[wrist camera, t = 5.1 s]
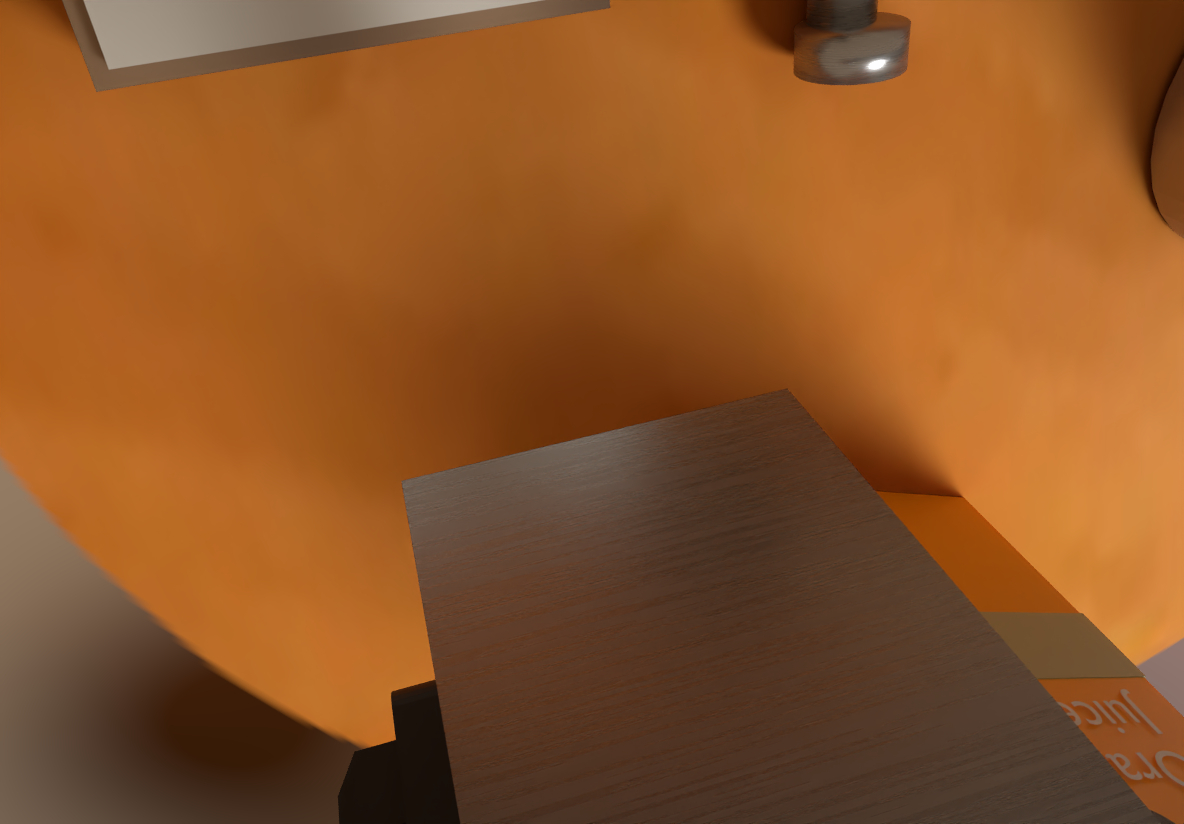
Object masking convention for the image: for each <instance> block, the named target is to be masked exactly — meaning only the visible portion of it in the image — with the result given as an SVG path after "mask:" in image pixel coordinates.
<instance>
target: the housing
mask: <svg viewBox="0 0 1184 824" xmlns="http://www.w3.org/2000/svg"><path fill="white" fill-rule="evenodd" d="M402 487H403V493H404V498H405V504H406V510H407V516H408V522H409V527H410V533H411V539H412V545H413V551H414V557H415V562H416V568H417V574H418V580H419V586H420V592H421V597H422V603H423V609H424V615H425V621H426V626H427V632H428V638H429V644H430V650H431V656H432V661H433V667H434V673H435V679H436V685H437V691H438V696H439V702H440V708H441V714H442V720H443V725H444V731H445V737H446V743H447V749H448V755H449V760H450V766H451V772H452V778H453V784H454V789H455V795H456V801H457V807H458V813H459V819H460V824H1161V823H1160V822H1159V820H1158V819H1157V818H1156V817H1155V816H1154V815H1153V813H1152V812H1151V811H1150V810H1149V809H1148V808H1147V806H1146V805H1145V804H1144V803H1143V802H1142V801H1141V800H1140V798H1139V797H1138V796H1137V795H1136V794H1135V793H1134V791H1133V790H1132V789H1131V788H1130V787H1129V786H1128V784H1127V783H1126V782H1125V781H1124V780H1123V779H1122V777H1121V776H1120V775H1119V774H1118V773H1117V772H1116V770H1115V769H1114V768H1113V767H1112V766H1111V765H1110V763H1109V762H1108V761H1107V760H1106V759H1105V758H1104V756H1103V755H1102V754H1101V753H1100V752H1099V751H1098V749H1097V748H1096V747H1095V746H1094V745H1093V744H1092V743H1091V741H1090V740H1089V739H1088V738H1087V737H1086V736H1085V734H1084V733H1083V732H1082V731H1081V730H1080V729H1079V727H1078V726H1077V725H1076V724H1075V723H1074V722H1073V720H1072V719H1071V718H1070V717H1069V716H1068V715H1067V713H1066V712H1065V711H1064V710H1063V709H1062V708H1061V706H1060V705H1059V704H1058V703H1057V702H1056V701H1055V699H1054V698H1053V697H1052V696H1051V695H1050V694H1049V692H1048V691H1047V690H1046V689H1045V688H1044V687H1043V686H1042V684H1041V683H1040V682H1039V681H1038V680H1037V679H1036V677H1035V676H1034V675H1033V674H1032V673H1031V672H1030V670H1029V669H1028V668H1027V667H1026V666H1025V665H1024V663H1023V662H1022V661H1021V660H1020V659H1019V658H1018V656H1017V655H1016V654H1015V653H1014V652H1013V651H1012V649H1011V648H1010V647H1009V646H1008V645H1007V644H1006V642H1005V641H1004V640H1003V639H1002V638H1001V637H1000V635H999V634H998V633H997V632H996V631H995V630H994V628H993V627H992V626H991V625H990V624H989V623H988V622H987V620H986V619H985V618H984V617H983V616H982V615H981V613H980V612H979V611H978V610H977V609H976V608H975V606H974V605H973V604H972V603H971V602H970V601H969V599H968V598H967V597H966V596H965V595H964V594H963V592H962V591H961V590H960V589H959V588H958V587H957V585H956V584H955V583H954V582H953V581H952V580H951V578H950V577H949V576H948V575H947V574H946V573H945V571H944V570H943V569H942V568H941V567H940V566H939V565H938V563H937V562H936V561H935V560H934V559H933V558H932V556H931V555H930V554H929V553H928V552H927V551H926V549H925V548H924V547H923V546H922V545H921V544H920V542H919V541H918V540H917V539H916V538H915V537H914V535H913V534H912V533H911V532H910V531H909V530H908V528H907V527H906V526H905V525H904V524H903V523H902V521H901V520H900V519H899V518H898V517H897V516H896V514H895V513H894V512H893V511H892V510H891V509H890V508H889V506H888V505H887V504H886V503H885V502H884V501H883V499H882V498H881V497H880V496H879V495H878V494H877V492H876V491H875V490H874V489H873V488H872V487H871V485H870V484H869V483H868V482H867V481H866V480H865V478H864V477H863V476H862V475H861V474H860V473H859V471H858V470H857V469H856V468H855V467H854V466H853V464H852V463H851V462H850V461H849V460H848V459H847V457H846V456H845V455H844V454H843V453H842V452H841V451H840V449H839V448H838V447H837V446H836V445H835V444H834V442H833V441H832V440H831V439H830V438H829V437H828V435H827V434H826V433H825V432H824V431H823V430H822V428H821V427H820V426H819V425H818V424H817V423H816V421H815V420H814V419H813V418H812V417H811V416H810V414H809V413H808V412H807V411H806V410H805V409H804V407H803V406H802V405H801V404H800V403H799V402H798V400H797V399H796V398H795V397H794V396H793V395H792V394H791V392H790V391H789V390H788V389H783V390H779V391H775V392H771V393H767V394H762V395H758V396H754V397H750V398H746V399H742V400H737V401H733V402H729V403H725V404H721V405H717V406H712V407H708V408H704V409H700V410H696V411H692V412H687V413H683V414H679V415H675V416H671V417H666V418H662V419H658V420H654V421H650V422H646V423H641V424H637V425H633V426H629V427H625V428H621V429H616V430H612V431H608V432H604V433H600V434H596V435H591V436H587V437H583V438H579V439H575V440H570V441H566V442H562V443H558V444H554V445H550V446H545V447H541V448H537V449H533V450H529V451H525V452H520V453H516V454H512V455H508V456H504V457H500V458H495V459H491V460H487V461H483V462H479V463H474V464H470V465H466V466H462V467H458V468H454V469H449V470H445V471H441V472H437V473H433V474H429V475H424V476H420V477H416V478H412V479H408V480H404V481H402Z"/></svg>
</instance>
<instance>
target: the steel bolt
mask: <svg viewBox="0 0 1184 824" xmlns="http://www.w3.org/2000/svg"><path fill="white" fill-rule="evenodd" d="M877 7H878V0H807V19H806V20H804V21H801V22H799V23H798V24H797V25H795V27H794V75H795V76H796V77H798V78H799V79H802V80H804V81H808V82H812V83H818V84H827V85H858V84H868V83H875V82H880V81H885V80H888V79H892V78H895V77H897V76H899V75H901V74H903V73H904V72H905V71H906V70H907V63H908V51H909V39H910V27H911V21H910V20H909V19H908V18H906V17H904V16H901V15H897V14H892V13H884V12H877Z"/></svg>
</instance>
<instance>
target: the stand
mask: <svg viewBox="0 0 1184 824" xmlns="http://www.w3.org/2000/svg"><path fill="white" fill-rule="evenodd" d="M62 1H63V4H64V7H65V9H66V12H67V15H68V17H69V20H70V23H71V25H72V28H73V31H74V33H75V36H76V39H77V41H78V44H79V46H80V49H81V52H82V54H83V57H84V60H85V62H86V65H87V68H88V70H89V73H90V76H91V78H92V81H93V84H94V86H95V89H96V92H98V91H104V90H110V89H117V88H123V87H129V86H135V85H141V84H147V83H153V82H159V81H166V80H172V79H178V78H184V77H190V76H196V75H202V74H208V73H215V72H221V71H227V70H233V69H239V68H245V67H251V66H257V65H263V64H270V63H276V62H282V61H288V60H294V59H300V58H306V57H312V56H319V55H325V54H331V53H337V52H343V51H349V50H355V49H361V48H368V47H374V46H380V45H386V44H392V43H398V42H404V41H410V40H417V39H423V38H429V37H435V36H441V35H447V34H453V33H459V32H466V31H472V30H478V29H484V28H490V27H496V26H502V25H508V24H515V23H521V22H527V21H533V20H539V19H545V18H551V17H557V16H563V15H570V14H576V13H582V12H588V11H594V10H600V9H606V8H610V1H609V0H62Z"/></svg>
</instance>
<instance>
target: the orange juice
mask: <svg viewBox="0 0 1184 824" xmlns="http://www.w3.org/2000/svg"><path fill="white" fill-rule="evenodd" d="M876 492H877V494H878V495H879V496H880V497H881V498H882V499H883V501H884V502H885V503H886V504H887V505H888V506H889V508H890V509H891V510H892V511H893V512H894V513H895V514H896V516H897V517H898V518H899V519H900V520H901V521H902V523H903V524H904V525H905V526H906V527H907V528H908V530H909V531H910V532H911V533H912V534H913V535H914V537H915V538H916V539H917V540H918V541H919V542H920V544H921V545H922V546H923V547H924V548H925V549H926V551H927V552H928V553H929V554H930V555H931V556H932V558H933V559H934V560H935V561H936V562H937V563H938V565H939V566H940V567H941V568H942V569H943V570H944V571H945V573H946V574H947V575H948V576H949V577H950V578H951V580H952V581H953V582H954V583H955V584H956V585H957V587H958V588H959V589H960V590H961V591H962V592H963V594H964V595H965V596H966V597H967V598H968V599H969V601H970V602H971V603H972V604H973V605H974V606H975V608H976V609H977V610H978V611H979V612H980V613H981V615H982V616H983V617H984V618H985V619H986V620H987V622H988V623H989V624H990V625H991V626H992V627H993V628H994V630H995V631H996V632H997V633H998V634H999V635H1000V637H1001V638H1002V639H1003V640H1004V641H1005V642H1006V644H1007V645H1008V646H1009V647H1010V648H1011V649H1012V651H1013V652H1014V653H1015V654H1016V655H1017V656H1018V658H1019V659H1020V660H1021V661H1022V662H1023V663H1024V665H1025V666H1026V667H1027V668H1028V669H1029V670H1030V672H1031V673H1032V674H1033V675H1034V676H1035V677H1036V679H1037V680H1038V681H1039V682H1040V683H1041V684H1042V686H1043V687H1044V688H1045V689H1046V690H1047V691H1048V692H1049V694H1050V695H1051V696H1052V697H1053V698H1054V699H1055V701H1056V702H1057V703H1058V704H1059V705H1060V706H1061V708H1062V709H1063V710H1064V711H1065V712H1066V713H1067V715H1068V716H1069V717H1070V718H1071V719H1072V720H1073V722H1074V723H1075V724H1076V725H1077V726H1078V727H1079V729H1080V730H1081V731H1082V732H1083V733H1084V734H1085V736H1086V737H1087V738H1088V739H1089V740H1090V741H1091V743H1092V744H1093V745H1094V746H1095V747H1096V748H1097V749H1098V751H1099V752H1100V753H1101V754H1102V755H1103V756H1104V758H1105V759H1106V760H1107V761H1108V762H1109V763H1110V765H1111V766H1112V767H1113V768H1114V769H1115V770H1116V772H1117V773H1118V774H1119V775H1120V776H1121V777H1122V779H1123V780H1124V781H1125V782H1126V783H1127V784H1128V786H1129V787H1130V788H1131V789H1132V790H1133V791H1134V793H1135V794H1136V795H1137V796H1138V797H1139V798H1140V800H1141V801H1142V802H1143V803H1144V804H1145V805H1146V806H1147V808H1148V809H1149V810H1152V811H1154V812H1156V813H1158V814H1160V815H1162V816H1164V817H1166V818H1167V819H1169V820H1171V821H1172V822H1174V823H1175V824H1184V717H1183V716H1182V715H1181V714H1180V713H1179V712H1178V711H1177V710H1176V709H1175V708H1174V707H1173V706H1172V705H1171V704H1170V703H1169V702H1168V701H1167V700H1166V699H1165V698H1164V697H1163V696H1162V695H1161V694H1160V693H1159V692H1158V691H1157V690H1156V689H1155V688H1154V687H1153V686H1152V685H1151V684H1150V683H1149V682H1148V681H1147V680H1146V679H1145V677H1146V676H1145V675H1144V674H1143V673H1142V672H1141V671H1140V670H1139V669H1138V668H1137V667H1136V666H1135V665H1134V664H1133V663H1132V662H1131V661H1130V660H1129V659H1128V658H1127V657H1126V656H1125V655H1124V654H1123V653H1122V652H1121V651H1120V650H1119V649H1118V648H1117V647H1116V646H1115V645H1114V644H1113V643H1112V642H1111V641H1110V640H1109V639H1108V638H1107V637H1106V636H1105V635H1104V634H1103V633H1102V632H1101V631H1100V630H1099V629H1098V628H1097V627H1096V626H1095V625H1094V624H1093V623H1092V622H1091V621H1090V620H1089V619H1088V618H1087V617H1086V616H1085V615H1084V614H1083V613H1079V612H1078V611H1077V610H1076V609H1075V608H1074V607H1073V606H1072V605H1071V604H1070V603H1069V602H1068V601H1067V600H1066V599H1065V598H1064V597H1063V596H1062V595H1061V594H1060V593H1059V592H1058V591H1057V590H1056V589H1055V588H1054V587H1053V586H1052V585H1051V584H1050V583H1049V582H1048V581H1047V580H1046V579H1045V578H1044V577H1043V576H1042V575H1041V574H1040V573H1039V572H1038V571H1037V570H1036V569H1035V568H1034V567H1033V566H1032V565H1031V564H1030V563H1029V562H1028V561H1027V560H1026V559H1025V558H1024V557H1023V556H1022V555H1021V554H1020V553H1019V552H1018V551H1017V550H1016V549H1015V548H1014V547H1013V546H1012V545H1011V544H1010V543H1009V542H1008V541H1007V540H1006V539H1005V538H1004V537H1003V536H1002V535H1001V534H1000V533H999V532H998V531H997V530H996V529H995V528H994V527H993V526H992V525H991V524H990V523H989V522H988V521H987V520H986V519H985V518H984V517H983V516H982V515H981V514H980V513H979V512H978V511H977V510H976V509H975V508H974V507H973V506H972V505H971V504H970V503H969V502H968V501H967V500H966V499H965V498H964V497H951V496H937V495H923V494H909V493H895V492H881V491H876Z"/></svg>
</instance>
